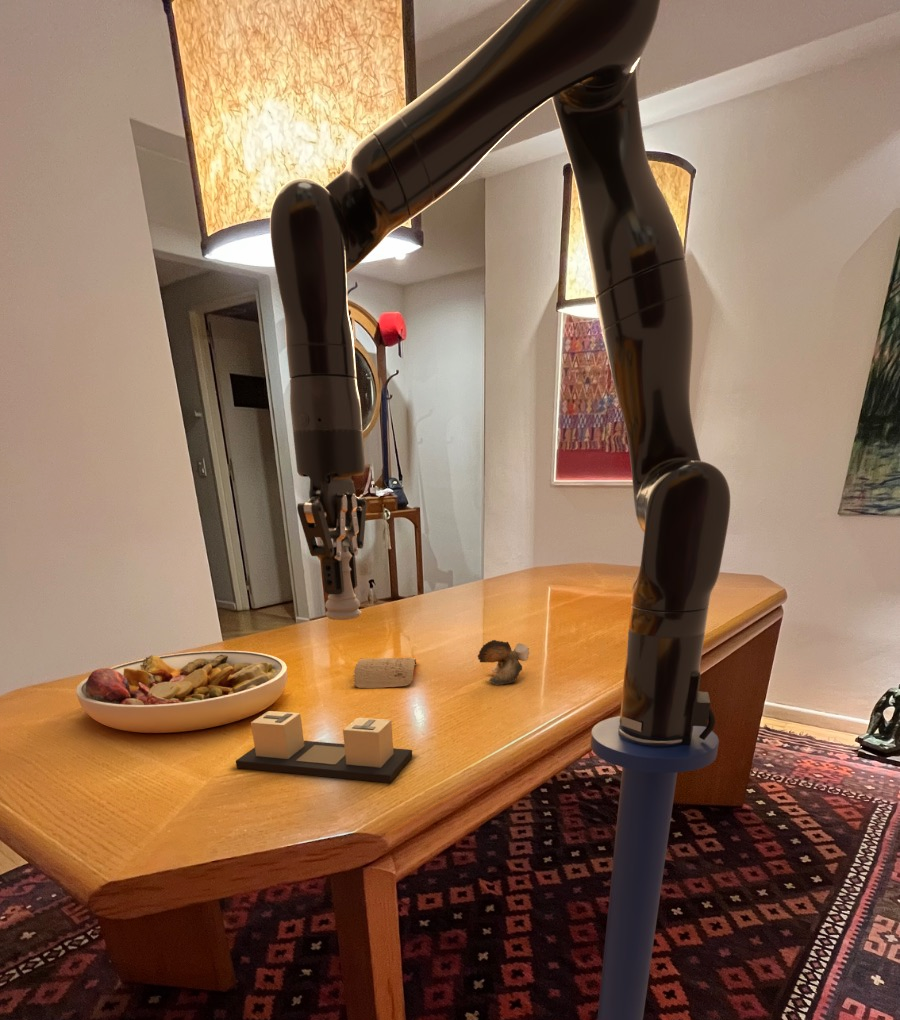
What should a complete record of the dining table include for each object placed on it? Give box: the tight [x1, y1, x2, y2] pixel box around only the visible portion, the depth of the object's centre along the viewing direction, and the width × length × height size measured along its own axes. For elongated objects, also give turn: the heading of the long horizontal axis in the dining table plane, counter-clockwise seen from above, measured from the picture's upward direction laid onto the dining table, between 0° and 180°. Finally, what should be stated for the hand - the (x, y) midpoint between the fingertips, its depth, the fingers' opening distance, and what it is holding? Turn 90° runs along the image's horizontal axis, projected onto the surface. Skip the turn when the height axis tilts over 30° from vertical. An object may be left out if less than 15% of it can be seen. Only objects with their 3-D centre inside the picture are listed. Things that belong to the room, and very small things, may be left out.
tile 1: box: [250, 710, 305, 759], centre depth 83 cm, size 4×4×4 cm
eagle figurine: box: [477, 639, 530, 686], centre depth 113 cm, size 8×7×9 cm
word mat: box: [235, 740, 413, 784], centre depth 83 cm, size 20×8×1 cm, turn 75°
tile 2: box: [342, 717, 394, 768], centre depth 80 cm, size 4×4×4 cm
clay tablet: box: [353, 657, 417, 689], centre depth 117 cm, size 14×10×3 cm
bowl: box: [75, 650, 288, 734], centre depth 103 cm, size 30×30×8 cm
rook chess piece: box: [324, 546, 363, 621], centre depth 81 cm, size 4×4×8 cm
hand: (341, 590), depth 81 cm, fingers closed on rook chess piece, 3 cm apart
